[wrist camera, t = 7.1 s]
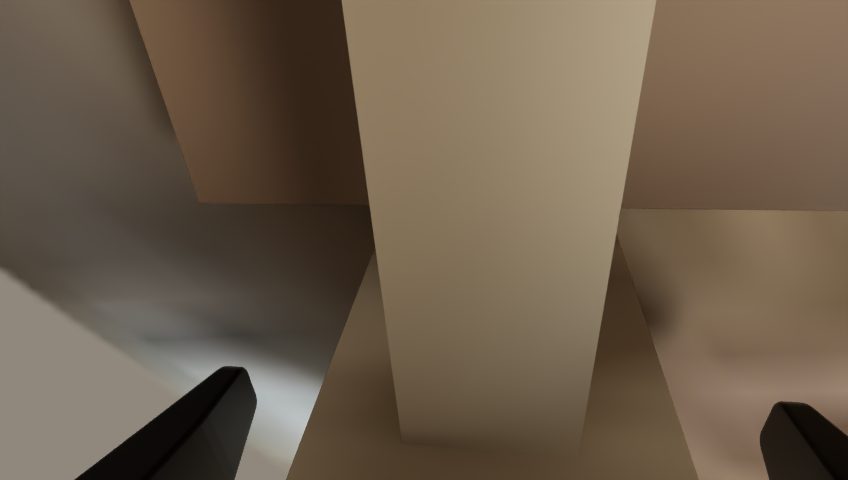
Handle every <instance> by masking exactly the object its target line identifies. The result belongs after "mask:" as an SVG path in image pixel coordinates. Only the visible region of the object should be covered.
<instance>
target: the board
mask: <svg viewBox="0 0 848 480" xmlns="http://www.w3.org/2000/svg"><path fill="white" fill-rule="evenodd" d="M129 1H130V4H131V7H132V9H133V12H134V15H135V18H136V21H137V24H138V27H139V30H140V33H141V36H142V38H143V41H144V44H145V47H146V50H147V53H148V56H149V59H150V62H151V65H152V67H153V70H154V73H155V76H156V79H157V82H158V85H159V88H160V91H161V94H162V96H163V99H164V102H165V105H166V108H167V111H168V114H169V117H170V120H171V123H172V125H173V128H174V131H175V134H176V137H177V140H178V143H179V146H180V149H181V151H182V154H183V157H184V160H185V163H186V166H187V169H188V172H189V175H190V178H191V180H192V183H193V186H194V189H195V192H196V195H197V198H198V201H199V203H230V204H312V205H370V204H369V197H368V190H367V183H366V175H365V168H364V161H363V153H362V146H361V139H360V131H359V124H358V117H357V109H356V102H355V95H354V87H353V80H352V73H351V65H350V58H349V51H348V44H347V36H346V29H345V22H344V14H343V7H342V0H129ZM621 208H639V209H721V210H803V211H848V0H656V5H655V11H654V17H653V22H652V28H651V34H650V40H649V46H648V52H647V58H646V63H645V69H644V75H643V81H642V87H641V93H640V98H639V104H638V110H637V116H636V122H635V128H634V134H633V139H632V145H631V151H630V157H629V163H628V169H627V174H626V180H625V186H624V192H623V198H622V204H621Z"/></svg>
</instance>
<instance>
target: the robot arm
mask: <svg viewBox="0 0 848 480" xmlns="http://www.w3.org/2000/svg"><path fill="white" fill-rule="evenodd" d="M256 405H257V398H256V394H255V391H254V388H253V386H252V383H251V380H250V377H249V374H248V372H247V370H246V369H245V368H243V367H233V366H224V367H222V368H220V369H218V370H217V371H216V372H214V373H213V374H212V375H210V376H209V377H208V378H206V379H205V380H204V381H203V382H201V383H200V384H199V385H197V386H196V387H195V388H193V389H192V390H191V391H189V392H188V393H187V394H186V395H184V396H183V397H182V398H180V399H179V400H178V401H176V402H175V403H174V404H173V405H171V406H170V407H169V408H167V409H166V410H165V411H164V412H162V413H161V414H160V415H158V416H157V417H156V418H154V419H153V420H152V421H150V422H149V423H148V424H146V425H145V426H144V427H143V428H141V429H140V430H139V431H137V432H136V433H135V434H133V435H132V436H131V437H129V438H128V439H127V440H126V441H124V442H123V443H122V444H120V445H119V446H118V447H117V448H115V449H114V450H113V451H111V452H110V453H109V454H107V455H106V456H105V457H103V458H102V459H101V460H100V461H98V462H97V463H96V464H94V465H93V466H92V467H90V468H89V469H88V470H86V471H85V472H84V473H83V474H81V475H80V476H79V477H77V478H76V479H75V480H234V479H235V476H236V473H237V470H238V466H239V463H240V460H241V456H242V453H243V449H244V446H245V443H246V440H247V437H248V433H249V430H250V427H251V423H252V420H253V417H254V413H255V410H256ZM760 447H761V451H762V454H763V458H764V462H765V465H766V469H767V473H768V476H769V480H848V436H847V435H846V434H845V433H844V432H842V431H841V430H840V429H839V428H837V427H836V426H835V425H834V424H832V423H831V422H830V421H829V420H828V419H826V418H825V417H824V416H823V415H821V414H820V413H819V412H818V411H816V410H815V409H814V408H813V407H811V406H809V405H808V404H805V403H799V402H783V401H781V402H778V403H776V404H774V406H773V408H772V410H771V412H770V414H769V416H768V418H767V420H766V422H765V425H764V427H763V429H762V431H761V434H760Z"/></svg>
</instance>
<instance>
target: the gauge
mask: <svg viewBox="0 0 848 480" xmlns="http://www.w3.org/2000/svg"><path fill="white" fill-rule="evenodd" d="M655 5H656V0H342V7H343V14H344V22H345V29H346V36H347V44H348V51H349V58H350V65H351V73H352V80H353V87H354V95H355V102H356V109H357V117H358V124H359V131H360V139H361V146H362V153H363V161H364V168H365V175H366V183H367V190H368V197H369V204H370V212H371V219H372V226H373V234H374V241H375V248H374V251H373V253H372V256H371V259H370V261H369V264H368V267H367V269H366V272H365V274H364V277H363V280H362V282H361V285H360V287H359V290H358V293H357V295H356V298H355V301H354V303H353V306H352V308H351V311H350V314H349V316H348V319H347V321H346V324H345V327H344V329H343V332H342V335H341V337H340V340H339V342H338V345H337V348H336V350H335V353H334V355H333V358H332V361H331V363H330V366H329V369H328V371H327V374H326V376H325V379H324V382H323V384H322V387H321V389H320V392H319V395H318V397H317V400H316V403H315V405H314V408H313V410H312V413H311V416H310V418H309V421H308V423H307V426H306V429H305V431H304V434H303V437H302V439H301V442H300V444H299V447H298V450H297V452H296V455H295V457H294V460H293V463H292V465H291V468H290V471H289V473H288V476H287V479H286V480H699V479H698V476H697V473H696V470H695V467H694V464H693V461H692V458H691V455H690V452H689V449H688V446H687V443H686V440H685V437H684V434H683V431H682V428H681V425H680V422H679V419H678V416H677V413H676V410H675V407H674V404H673V401H672V398H671V395H670V392H669V389H668V386H667V383H666V380H665V377H664V374H663V371H662V368H661V365H660V362H659V359H658V356H657V353H656V350H655V347H654V344H653V341H652V338H651V335H650V333H649V330H648V327H647V324H646V321H645V318H644V315H643V312H642V309H641V306H640V303H639V300H638V297H637V294H636V291H635V288H634V285H633V282H632V279H631V276H630V273H629V270H628V267H627V264H626V261H625V258H624V255H623V252H622V249H621V246H620V243H619V240H618V237H617V234H616V233H617V227H618V221H619V215H620V210H621V204H622V198H623V192H624V186H625V180H626V174H627V169H628V163H629V157H630V151H631V145H632V139H633V134H634V128H635V122H636V116H637V110H638V104H639V98H640V93H641V87H642V81H643V75H644V69H645V63H646V58H647V52H648V46H649V40H650V34H651V28H652V22H653V17H654V11H655Z"/></svg>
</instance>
